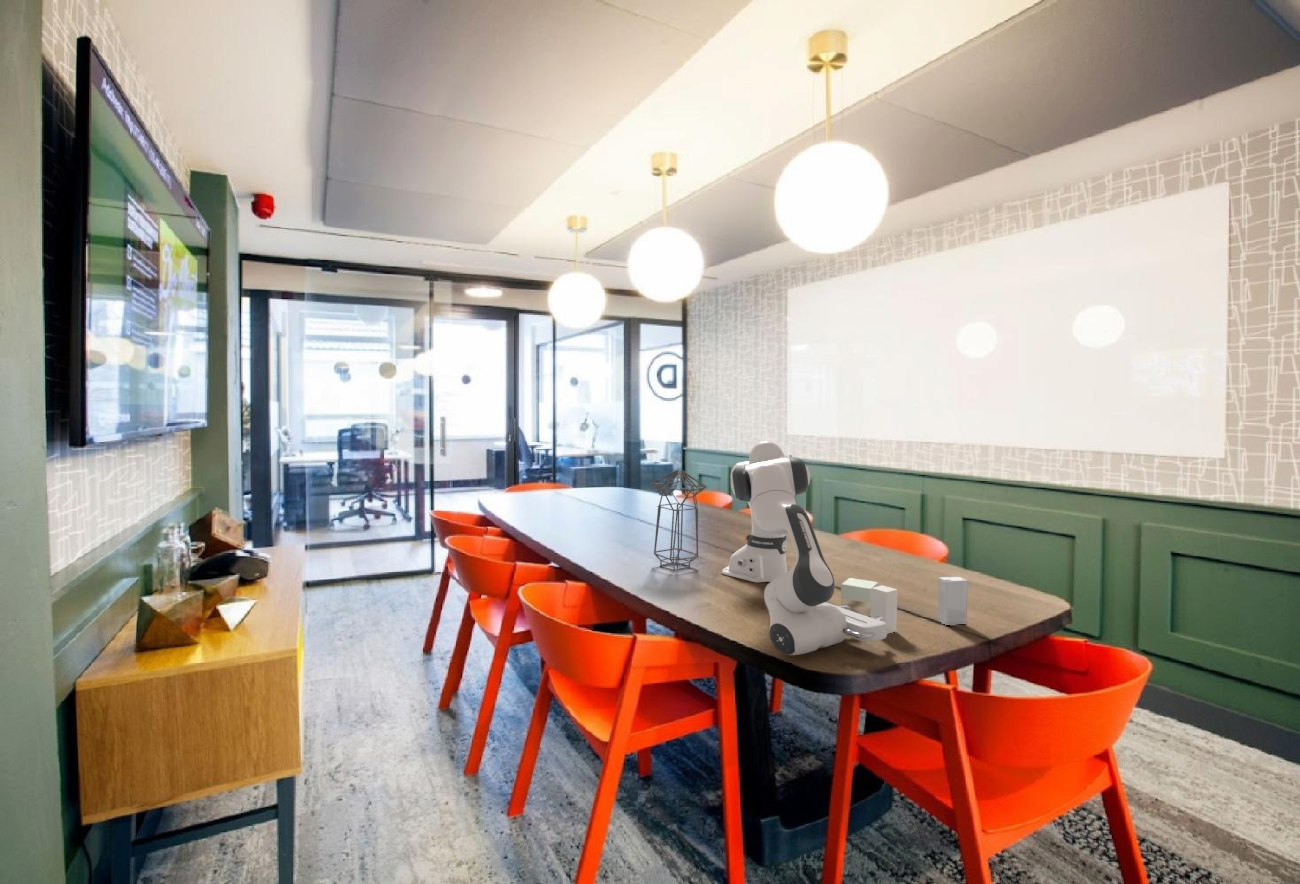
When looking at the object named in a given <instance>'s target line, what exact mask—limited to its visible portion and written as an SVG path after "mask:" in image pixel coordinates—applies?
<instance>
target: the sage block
mask: <svg viewBox="0 0 1300 884" xmlns="http://www.w3.org/2000/svg"><path fill="white" fill-rule="evenodd" d="M840 586H841V587H840V599H841V598H843V599H848V600H854V601H860V602H865V603H871V588H873V587H877V586H879V582H877V581H872V580H867V579H860V578H859V579H858V578H854V577H853V578H852V577H849V578H847V579H846V580H845V581H843V582H842V583H841V584H840Z"/></svg>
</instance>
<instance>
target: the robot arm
mask: <svg viewBox="0 0 1300 884" xmlns="http://www.w3.org/2000/svg"><path fill="white" fill-rule="evenodd" d="M810 482H811V473H810V469H809V467H808V466H807V464H806V463H805V461H804V460H803V459H801V458H799V457H794V456H792V455H791V454H789V455H788V456H785V454H784V452H783V449H782V448H781V447H780V446H779V445H778V444H777V443H775V442H773V441H770V440H763V441H759V442H758V443H755V445H754V446H753V447H752V448H751V451H750V453H749V456H748V461H740V462H736V463H735V464H734V466H733V467H732V468H731V472H730V489H731V491H732V493H733V495H734V496H735V498H736V499H737V500H738V501H740V502H747V504H748V507H749V509H750V517H751V533H749V534H748V535H746V536H744V538H745V539H744V540H745V541H746V544H745V545H743V546H742V547H741V548H739V549H737V550H736V551H735V552H734V553H732V555H731V556H730V558H729V562H728V566H726V567H724V568H723V569H722V572H721V574H723V575H725V576H728V577H733V578H737V579H741V580H745V581H749V582H753V583H766V582H768V583H767V584H766V586H765V587H764V589H763V602H764V605H765V608H766V610H767V612H768V614H769V618H770V621H769V622H770V625H769V627H768V628H769V629H768V636H769V640H770V642H771V643H772V645H773V647H774V648H775V649H776V651H778V652H780V653H781V654H784V655H787V656H799V655H804V654H805V655H806V654H809V653H811V652H814V651H815V652H816V651H817V650H818V649H819V648H822V649H823V648H827V647H830V646H832V645H837V644H839V643H842V642H843V641H845V639H846V637H849V638H852V639H854V640H858V641H859V642H864V643H869V642H870V643H871V642H872V643H873V642H877V641H880V640H884V639H886V638H887V636H888V635H887V624H886V623H885V622H884V618H883V617H880V616H876V617H875V618H871V616H870V617H868V616H865V615H862V614H859V613H856V612H853V611H851V609H852V608H851V607H849V606H847V605H846V606H841V605H835V604H832V603H828V601H830V600H831V599H832V597H833V596H834V593H835V578H834V575H833V573H832V571H831V569H830V567H829V565H828V564H827V562H826V560H825V558H824V554H823V553H822V550H821V547H820V544H819V541H818V538H817V536H816V533H815V531H814V527H813V525H812V521H811V519H810V518H809V516H808V514H807V511H805V509H804V508H803V507H802V506H800V505H798V504H797V503H796V502H797V501H796V499H795V496H799V495H801V494H804V493H806V492H807V491H808V490H809V488H810V487H809V486H810V484H811V483H810ZM787 534H789V537H790V541H791V543H792V547H793V550H794V554H795V557H796V558H795V563H794V565H793V566H792V567H791V568H790V569H788V564H787V557H786V556H787V555H786V552H787V545H788V544H787V542H788V541H787Z"/></svg>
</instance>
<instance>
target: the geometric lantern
mask: <svg viewBox="0 0 1300 884" xmlns="http://www.w3.org/2000/svg"><path fill="white" fill-rule="evenodd" d="M668 477H669V478H668ZM665 479H666V480H665ZM662 480H665V481H664V482H663V483H659V482H660V481H662ZM693 480H694V481H695V482H697V485H696V484H695V483H694V482H693ZM678 483H679V488H677V487H678ZM681 483H682V485H683V486H684V487H682V486H681ZM698 484H700V485H698ZM649 485H652V486H653V488H654V489H656V491H657V492H658V494H659V495H658V496H660V501H659V504H658V505H657V506H656V507H657V513H656V514H657V517H656V527H655V528H656V529H655V539H654V549H653V555H654V556H655V557H656V558H657V559H658V560H659V562H660V563H659V567H660V568H663V569H666V570H669V571H673V572H674V571H675V572H676V571H680V570H681V571H682V570H684V569H688V568H691V563H692V562H693V561H695V559H697V558H699V507H698V499H697V495H699V493H701V492H702V491H704V490H705V489H706V488H707V487H708V485H706V484H704V483H703V482H701V481H700V480H698V479H697V478H695V477H693V475H690V474H688V472H686V471H684V470H682V469H676V470H674V471H672V472H669V473H668V474H666V475H664V476H663V477H662V476H661V477H660V478H659V479H656V480H654V481H653V482H650V484H649ZM672 485H673V487H671V486H672ZM688 486H690V488H689V487H688ZM674 491H681V493H683V495H684V496H685V497H684V499H683V500H682V502H679V501H678V499H677V498H676V496H675V495H674V493H673V492H674ZM685 491H686V492H685ZM690 494H692V495H690ZM669 495H672V496H673V498H674V500H676V502H674V503H671V501H670V499H669V497H668V496H669ZM689 495H690V496H689ZM663 497H665V498H666V500H667V502H668V503H665V504H661V503H662V500H663ZM687 499H693V504H694V505H689V504H685V502H686V500H687ZM672 505H676V509H675V508H673V506H672ZM664 506H670V508H669V507H664ZM684 506H686V507H690V508H686V509H685V508H684ZM691 507H692V508H691ZM662 509H665V510H669V511H672V518H671V520H672V521H671V534H670V536H671V537H670V548H666V549H661V550H657V544H658V543H657V541H658V537H659V527H660V526H659V525H660V518H661V510H662ZM691 510H694V511H695V513H694V514H695V515H694V516H695V536H696V537H695V538H696V539H695V545H696V546H695V547H696V553H695V552H693V551H690V550H686V549H683V522H684V521H683V520H684V519H683V517H684V514H683V513H684V511H691ZM680 513H681V516H680ZM680 518H681V519H680ZM674 521H675V522H674ZM674 523H675V524H674ZM674 525H675V526H674ZM676 535H677V547H676ZM673 536H674V537H673ZM675 550H676V551H677V555H676V556H675ZM668 551H669V557H667V556H664V555H661V554H659V553H662V552H668ZM681 551H682V552H685V553H688V554H691V555H694V556H688V557H683V558H682V557H681V558H680V552H681ZM660 557H661V558H662V559H661V558H660ZM666 560H668V561H670V562H668V561H666ZM679 561H686V562H681V563H680V562H679ZM662 562H663V563H664V564H662ZM666 565H672V566H673V568H670V567H666ZM681 565H682V566H685V567H680V568H679V566H681ZM675 568H676V569H675Z"/></svg>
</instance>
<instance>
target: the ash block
mask: <svg viewBox="0 0 1300 884" xmlns="http://www.w3.org/2000/svg"><path fill="white" fill-rule="evenodd" d="M846 605H847V606H849V607H851V608H852V609H851V611H853V612H856V613H859V614H862V615H865V616H870V617H871V603H865V602H860V601H854V600H848V599H843V598H841V597H840V606H846Z"/></svg>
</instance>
